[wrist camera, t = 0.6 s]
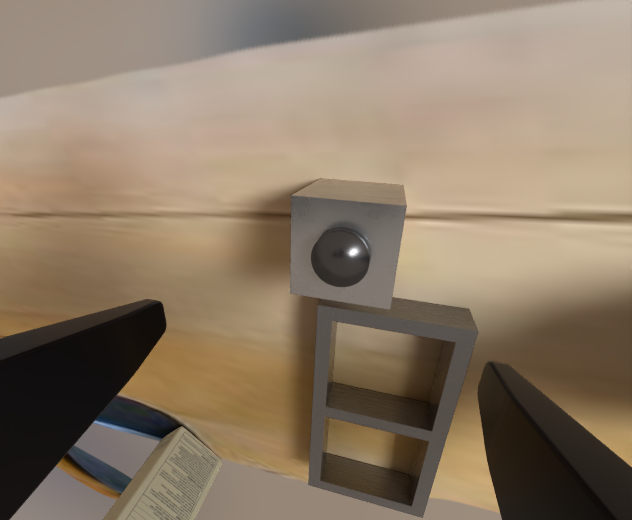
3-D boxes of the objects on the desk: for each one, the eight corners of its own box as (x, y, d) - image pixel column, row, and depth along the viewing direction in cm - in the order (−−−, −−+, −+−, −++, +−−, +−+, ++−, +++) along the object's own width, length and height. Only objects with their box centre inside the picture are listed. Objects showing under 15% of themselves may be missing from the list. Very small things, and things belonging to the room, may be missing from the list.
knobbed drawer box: (403, 184, 18) (407, 210, 12) (391, 262, 20) (389, 318, 14) (320, 178, 19) (285, 198, 13) (317, 252, 21) (284, 301, 15)
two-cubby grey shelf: (469, 309, 20) (478, 331, 18) (420, 485, 27) (422, 517, 25) (325, 287, 22) (317, 304, 20) (315, 457, 29) (308, 484, 26)
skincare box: (162, 436, 33) (47, 584, 22) (183, 423, 32) (69, 576, 21) (204, 475, 34) (113, 635, 23) (227, 463, 32) (140, 632, 21)
